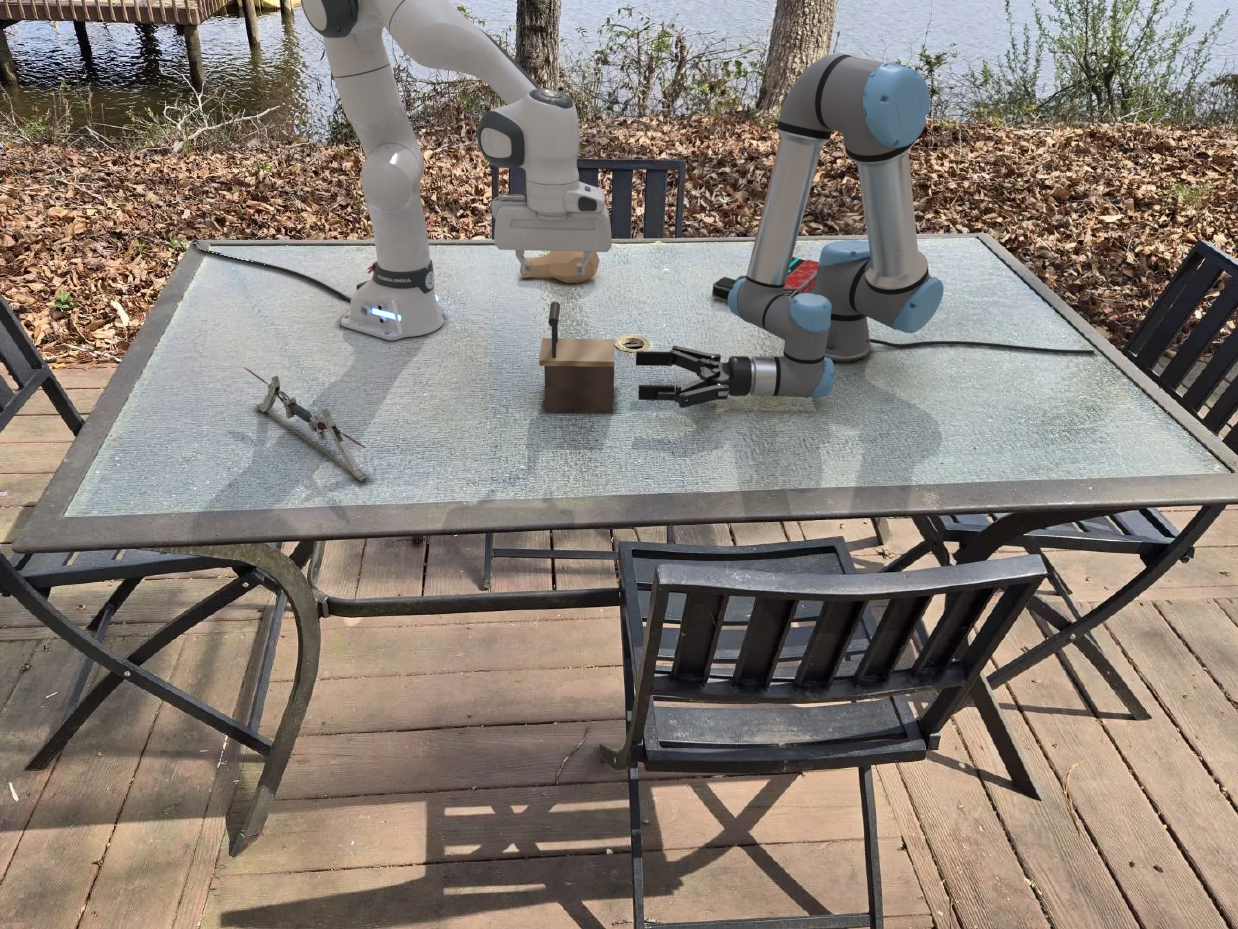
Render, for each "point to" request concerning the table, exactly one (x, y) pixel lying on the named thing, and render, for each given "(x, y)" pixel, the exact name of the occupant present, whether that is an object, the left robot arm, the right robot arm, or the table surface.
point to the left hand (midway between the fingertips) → (554, 273)
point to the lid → (574, 348)
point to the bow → (311, 423)
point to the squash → (562, 266)
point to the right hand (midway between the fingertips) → (637, 374)
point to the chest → (579, 389)
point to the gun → (796, 282)
